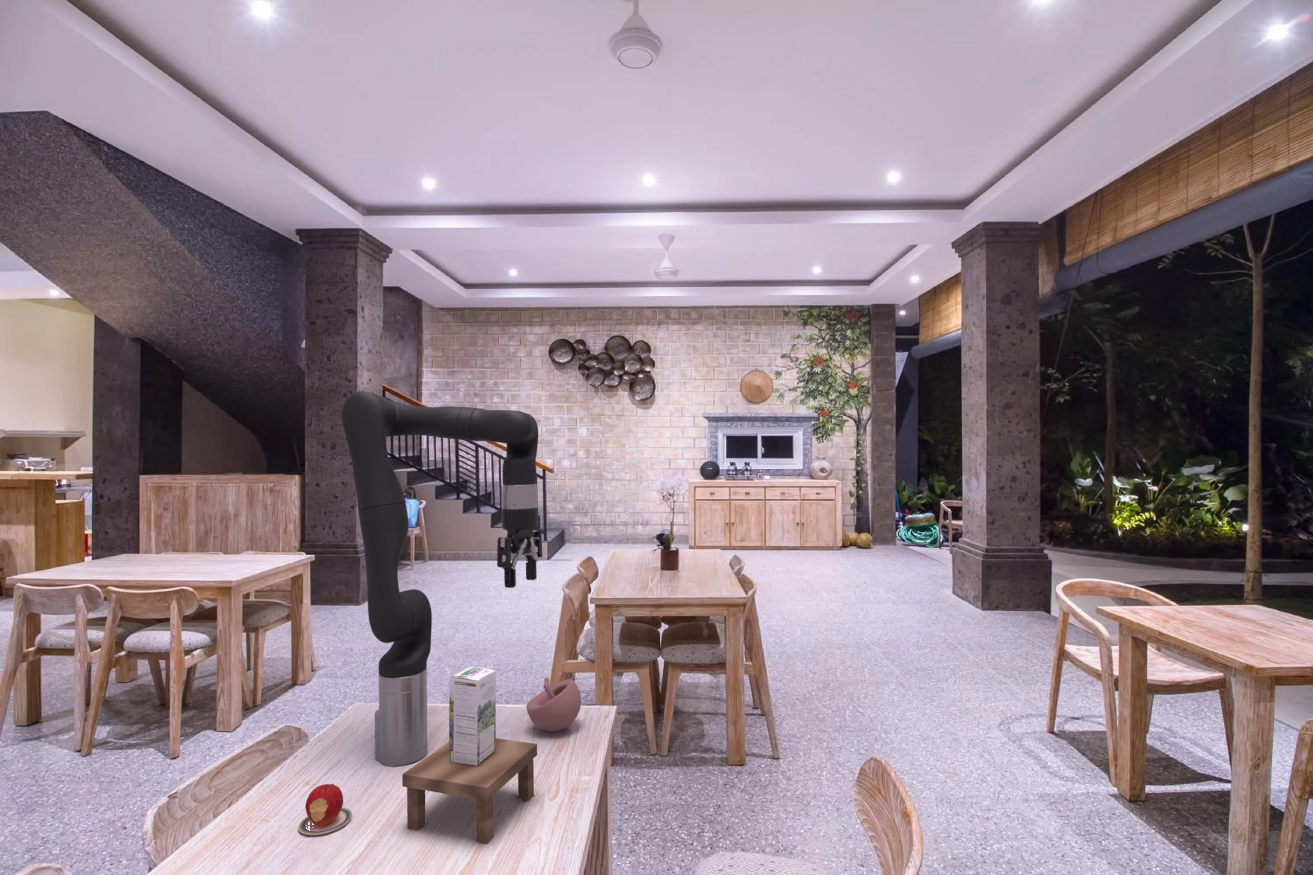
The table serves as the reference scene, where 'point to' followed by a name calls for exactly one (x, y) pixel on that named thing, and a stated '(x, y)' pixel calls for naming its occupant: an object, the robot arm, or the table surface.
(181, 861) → the table surface
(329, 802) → the apple
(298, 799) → the table surface
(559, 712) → the mortar and pestle
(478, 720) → the syrup box
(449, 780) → the walnut stool
